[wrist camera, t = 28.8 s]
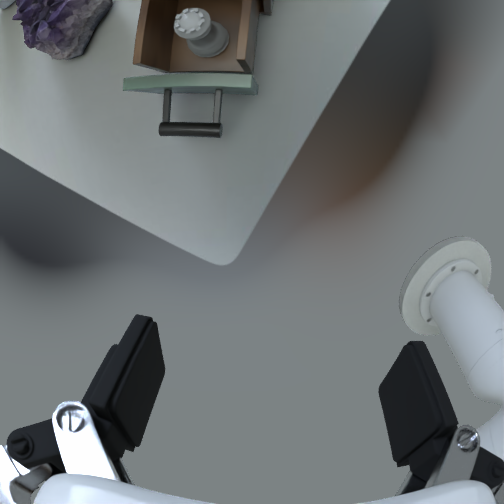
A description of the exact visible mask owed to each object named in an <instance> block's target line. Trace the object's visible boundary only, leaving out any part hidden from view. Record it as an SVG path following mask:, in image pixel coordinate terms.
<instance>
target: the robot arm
mask: <svg viewBox="0 0 504 504" xmlns="http://www.w3.org/2000/svg"><path fill="white" fill-rule="evenodd" d="M419 312H420V315H421V316H422V318H423V320H424V321H425V322H426V323H427V324H429V325H431V326H438V327H439V329H440V331H441V332H442V334H443V336H444V338H445V340H446V341H447V343H448V345H449V347H450V349H451V351H452V353H453V355H454V357H455V359H456V360H457V363H458V364H459V366H460V369H461V371H462V373H463V375H464V377H465V379H466V381H467V383H468V385H469V387H470V389H471V391H472V393H473V394H474V395H475V396H476V397H477V398H478V399H480V400H482V401H484V402H488V403H494V404H499V405H500V406H501V408H500V410H499V411H498V412H497V413H496V414H495V415H494V416H493V417H492V418H491V419H490V420H488V421H487V422H486V423H485V424H483V425H482V426H481V427H479V428H478V429H477V430H475V429H474V428H473V427H472V426H469V425H462V426H460V427H459V428H457V424H458V421H457V418H456V415H455V412H454V410H453V407H452V404H451V402H450V399H449V397H448V394H447V392H446V389H445V387H444V385H443V382H442V380H441V378H440V375H439V373H438V371H437V368H436V366H435V364H434V362H433V359H432V357H431V355H430V353H429V351H428V349H427V347H426V344H425V343H424V342H423V341H410V342H408V344H407V345H405V346H404V347H403V349H402V351H401V352H400V354H399V356H398V357H397V359H396V361H395V362H394V364H393V366H392V367H391V369H390V370H389V372H388V374H387V375H386V377H385V378H384V380H383V382H382V383H381V384H380V386H379V397H380V401H381V405H382V409H383V413H384V418H385V422H386V426H387V431H388V436H389V441H390V445H391V450H392V455H393V460H394V461H395V462H397V467H401V466H406V465H409V466H410V471H409V473H408V475H407V476H406V478H405V480H404V482H403V483H402V485H401V487H400V489H399V490H398V492H397V494H396V495H395V496H394V497H390V498H385V499H380V500H375V501H369V502H363V503H357V504H504V311H503V310H502V308H501V307H500V306H499V305H498V303H497V302H496V301H495V300H494V295H493V294H489V293H488V291H487V290H486V289H485V288H484V287H483V285H482V273H481V270H480V268H479V267H478V266H477V265H476V264H475V263H474V262H473V261H471V260H469V259H464V258H463V259H456V260H453V261H451V262H449V263H447V264H445V265H444V266H442V267H441V268H439V269H438V270H437V271H436V272H435V273H434V274H433V275H432V276H431V278H430V279H429V280H428V282H427V283H426V285H425V286H424V288H423V291H422V293H421V296H420V299H419ZM164 374H165V365H164V360H163V355H162V349H161V344H160V338H159V333H158V327H157V323H156V322H153V319H152V318H151V317H148V316H143V315H138V314H137V315H135V317H134V318H133V320H132V322H131V323H130V325H129V327H128V329H127V330H126V332H125V334H124V336H123V338H122V339H121V341H120V343H119V344H118V345H117V344H114V345H113V346H112V347H111V348H110V350H109V352H108V353H107V355H106V357H105V358H104V360H103V362H102V364H101V366H100V368H99V369H98V371H97V373H96V375H95V377H94V378H93V380H92V382H91V384H90V386H89V388H88V390H87V392H86V394H85V396H84V397H83V399H82V402H81V403H80V402H77V401H66V402H64V403H61V404H60V405H59V406H58V407H57V408H56V409H55V411H54V413H53V417H52V419H49V420H46V421H43V422H40V423H36V424H33V425H30V426H26V427H23V428H19V429H16V430H14V431H13V432H12V433H11V434H10V435H9V437H8V439H7V445H6V446H3V445H0V504H31V500H30V498H31V494H32V493H33V492H34V490H35V489H37V488H39V487H38V485H39V484H40V483H42V482H43V481H46V482H45V483H44V484H43V486H42V487H41V489H40V491H39V492H38V494H37V496H36V498H35V500H34V503H33V504H216V503H210V502H203V501H197V500H192V499H187V498H182V497H177V496H173V495H168V494H164V493H160V492H156V491H152V490H149V489H145V488H142V487H138V486H135V484H134V483H133V481H132V479H131V477H130V475H129V473H128V471H127V469H126V467H125V465H124V463H123V460H122V457H123V454H124V451H125V449H126V450H129V451H132V452H133V451H134V448H135V446H136V447H139V446H140V444H141V441H142V438H143V435H144V432H145V429H146V426H147V423H148V420H149V417H150V414H151V411H152V408H153V406H154V403H155V400H156V397H157V394H158V392H159V388H160V386H161V383H162V380H163V377H164Z"/></svg>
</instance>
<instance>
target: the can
mask: <svg viewBox="0 0 504 504" xmlns="http://www.w3.org/2000/svg"><path fill="white" fill-rule="evenodd" d="M14 1H15V0H0V9H5V8H6V7H8V6H9V5H11V4H12V3H13V2H14Z"/></svg>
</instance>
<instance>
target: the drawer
mask: <svg viewBox="0 0 504 504" xmlns="http://www.w3.org/2000/svg"><path fill="white" fill-rule="evenodd" d="M260 2H261V0H142V3H141V9H140V14H139V20H138V26H137V33H136V40H135V48H134V56H133V64H134V65H138V66H142V67H145V68H149V69H153V70H156V71H160V72H163V73H179V72H233V73H251V74H252V73H253V66H254V57H255V47H256V38H257V29H258V19H259V11H260ZM187 8H188V9H190V8H200V9H203V10H205V11H206V12H207V13H208V14H209V16H210V19H211V20H210V21H215V22H218V23H220V24H221V25H222V26H223V27H224V28H225V29H226V30H227V31H228V34H229V42H228V45H227V46H226V48H225V49H224V50H223V51H222V52H221V53H219V54H218V55H215V56H213V57H200V56H198V55H195V54H194V53H193V52H192V51H191V50H190V49H189V47H188V44H187V39H186V38H183V37H180V36H179V35H178V34H177V33H176V32H175V29H174V22H175V20H176V19H175V18H176V16H177V15H178V14H181V13H182V12H183V10H185V9H187ZM123 91H136V92H148V93H158V94H163V93H164V102H163V121H162V122H161V123H160V125H159V135H160V136H192V137H214V138H221V136H222V124H221V123H220V117H221V105H222V93H227V94H245V95H257V94H258V84H257V82H256V81H255V79H254V77H253V75H250V74H231V73H180V74H162V75H149V76H139V77H130V78H124V82H123ZM172 93H215V100H214V113H213V123H198V122H170V110H171V95H172Z"/></svg>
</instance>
